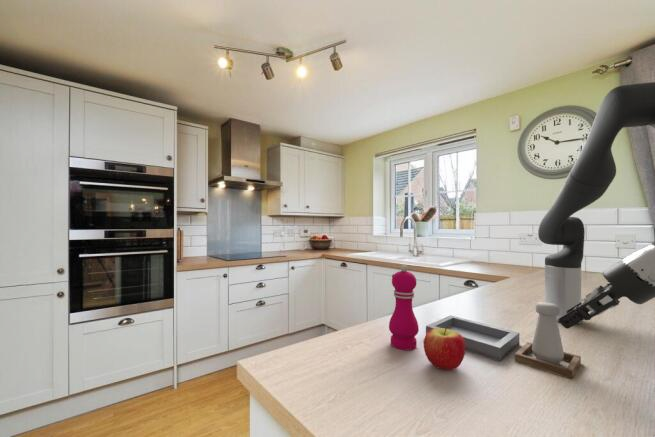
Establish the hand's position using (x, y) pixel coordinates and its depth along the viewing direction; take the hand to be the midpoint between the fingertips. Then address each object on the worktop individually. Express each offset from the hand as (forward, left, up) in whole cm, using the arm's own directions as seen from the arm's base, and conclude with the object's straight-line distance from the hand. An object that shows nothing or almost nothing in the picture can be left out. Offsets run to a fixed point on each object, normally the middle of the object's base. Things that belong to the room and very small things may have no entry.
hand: (566, 319), depth 63 cm
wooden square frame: (0, -3, -10) cm, 11 cm away
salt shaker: (0, -3, -10) cm, 11 cm away
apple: (+20, -17, -10) cm, 28 cm away
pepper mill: (+17, -29, -10) cm, 35 cm away
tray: (+1, -19, -10) cm, 22 cm away
